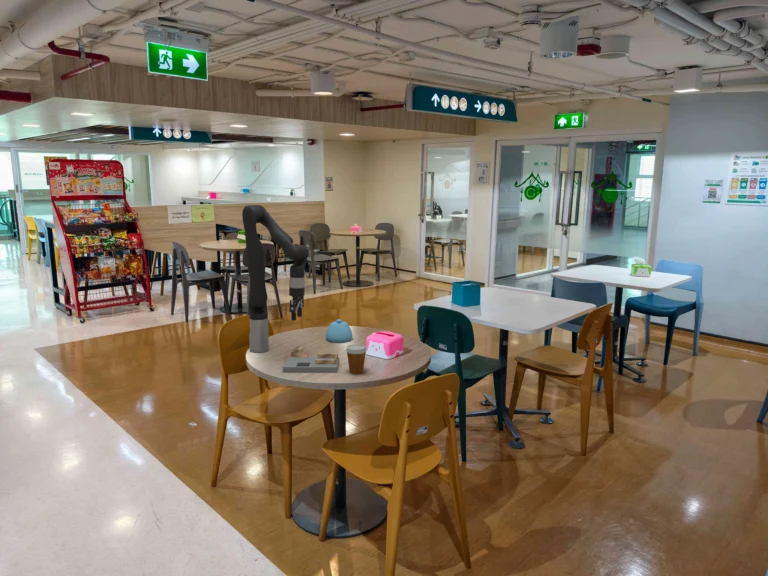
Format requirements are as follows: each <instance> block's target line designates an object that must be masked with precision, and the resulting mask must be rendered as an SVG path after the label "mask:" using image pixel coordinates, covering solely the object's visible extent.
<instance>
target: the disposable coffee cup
mask: <svg viewBox="0 0 768 576" xmlns="http://www.w3.org/2000/svg"><path fill="white" fill-rule="evenodd" d="M367 350H368V349H367V346H366V345H363V344H350V345H348V346H347V347H346V349H345V351H346V355H347V362H348V370H349V373H350V374H352V375H360V374H363V372H364V367H365V360H366V352H367Z"/></svg>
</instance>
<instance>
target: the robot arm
mask: <svg viewBox="0 0 768 576" xmlns="http://www.w3.org/2000/svg"><path fill="white" fill-rule="evenodd" d="M241 214H242V215H241V217H242V218H241V219H242V224H243V229H244V237H245V238H244V239H245V252H246V253H245V256H246V265H247V271H248V276H249V280H250V281H249V282H250V283H249V287H250V288H249V292H248V314H249V334H248V337H249V339H248V340H249V352H251V353H252V352H253V353H265V352H267V351H269V350H270V348H269V347H270V344H269V343H270V342H269V338H270V337H269V316H268V315H269V312H268V292H267V287H266V251H265V247H264V245H263V243H262V241H261V240H260V238H259V236H258V235H259V234H258V231H257V230H258V229H257V224H261V225H262V226H264V228H266V229H267V230H268V231H267V232H268V233H269V235H270V238H271V240H272V241H274V243H275V244H276V245H278V246H279V247H280V248H281V250H282V251H283V253H284V254H285V256H286V257H287V258H288V259H289V260H291V261H294V263H293V264H292V265H290V267H289V281H288V283H289V284H288V288H289V289H288V293H289V294H288V295H289V297H292V298H291V299H290V300H289V310H288V311H289V313H290V314H291V315H290V317H291V321H297V317H298V318H301V317H302V316H303V309H304V307H305V294H306V287H305V284H306V281H305V268H306V265H307V261H308V249H307V247H306V246H305V245H302V244H298V245H297V244H296V245H294V244H293V243H294V240H293V237H291V236H290V234H288V233H287V232H286V231H285V230H284V229H282V228H281V227H280V226H279V224H278V223H277V221H276V220H275V219H274V218H273V217H272V215H271V214H270V213H269V212H268V211H267V209H266V208H265V207H264V206H262V204H261V205H260V204H251V205H250V204H249V205H246V206H244V207H243V209H242V213H241Z"/></svg>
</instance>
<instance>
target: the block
mask: <svg viewBox="0 0 768 576" xmlns="http://www.w3.org/2000/svg"><path fill="white" fill-rule="evenodd" d="M303 353H304V346H295V345H293V346H292V347H291V348H290V354H291V357H301V356H302V355H303Z"/></svg>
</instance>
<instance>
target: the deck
mask: <svg viewBox="0 0 768 576" xmlns="http://www.w3.org/2000/svg"><path fill="white" fill-rule="evenodd" d="M334 359H335V358H317V357H315V356H311V357H309V356H308V357H287V358H286V360H285V362H284V363H283V366H282V373H327V374H328V373H334V374H335V373H338V369H339V365H340V357H338V360H337V364H315V360H334Z"/></svg>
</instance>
